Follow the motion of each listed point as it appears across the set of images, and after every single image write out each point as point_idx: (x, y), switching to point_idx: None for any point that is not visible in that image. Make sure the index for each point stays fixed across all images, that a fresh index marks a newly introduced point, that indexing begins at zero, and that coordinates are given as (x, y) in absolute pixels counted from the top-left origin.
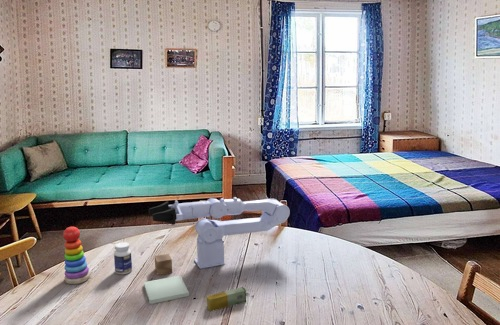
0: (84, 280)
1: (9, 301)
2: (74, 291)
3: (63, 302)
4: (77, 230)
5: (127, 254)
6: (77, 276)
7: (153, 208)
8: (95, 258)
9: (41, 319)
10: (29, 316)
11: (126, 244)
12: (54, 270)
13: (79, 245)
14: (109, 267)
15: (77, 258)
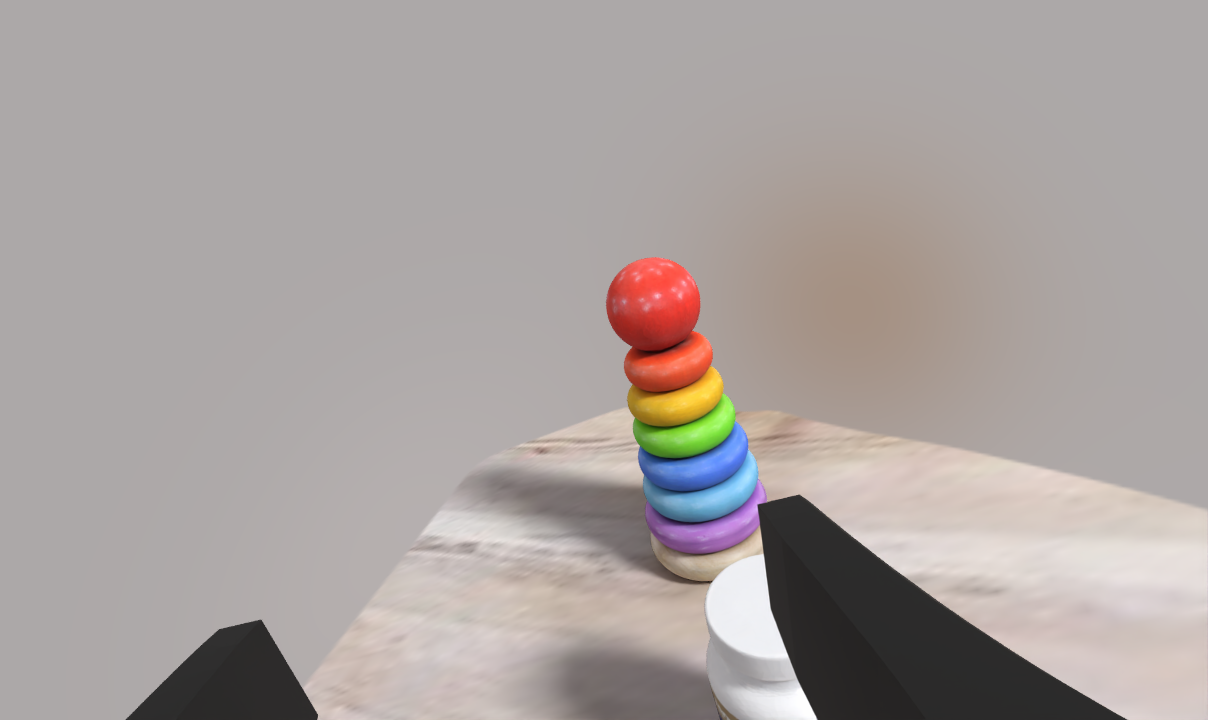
0: (669, 569)
1: (590, 426)
2: (591, 565)
3: (510, 558)
4: (635, 296)
5: (728, 706)
6: (648, 524)
7: (797, 570)
8: (1011, 540)
9: (424, 536)
10: (465, 501)
11: (779, 635)
12: (822, 437)
13: (650, 387)
14: None
15: (640, 445)
